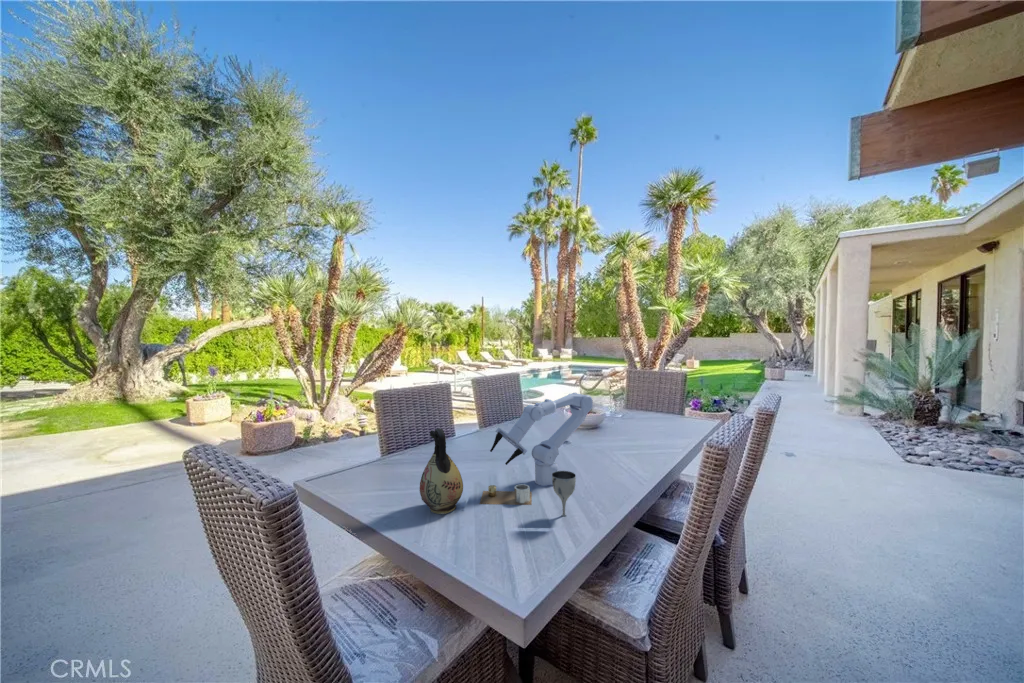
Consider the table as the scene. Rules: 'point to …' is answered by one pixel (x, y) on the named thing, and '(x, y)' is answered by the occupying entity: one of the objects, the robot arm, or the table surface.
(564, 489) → the wine glass
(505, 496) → the walnut board
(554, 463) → the robot arm
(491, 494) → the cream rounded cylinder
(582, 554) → the table surface
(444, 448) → the ceramic jug
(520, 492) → the steel collar
